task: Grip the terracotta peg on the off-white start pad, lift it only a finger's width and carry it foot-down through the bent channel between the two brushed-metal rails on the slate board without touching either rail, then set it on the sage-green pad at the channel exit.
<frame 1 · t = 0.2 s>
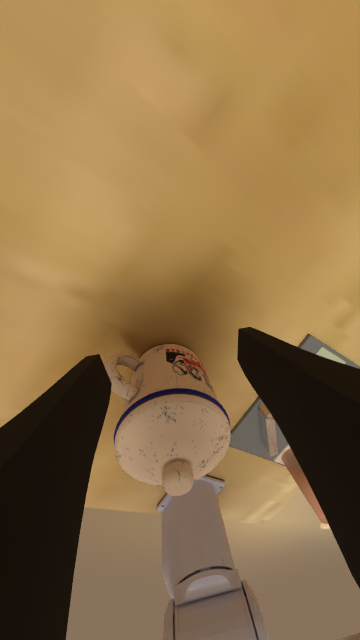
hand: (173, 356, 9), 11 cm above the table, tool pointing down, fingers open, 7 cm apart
rails: (293, 423, 25), on the board
peg: (292, 455, 28), point 1 cm above the table, touching board
board: (300, 411, 26), on the table
teacup with lid: (160, 366, 21), on the table
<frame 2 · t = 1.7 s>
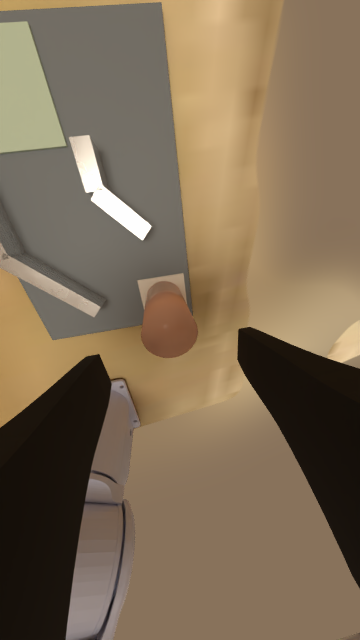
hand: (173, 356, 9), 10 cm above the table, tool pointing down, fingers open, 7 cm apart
rails: (79, 245, 13), on the board
peg: (164, 298, 17), point 1 cm above the table, touching board
board: (91, 221, 14), on the table
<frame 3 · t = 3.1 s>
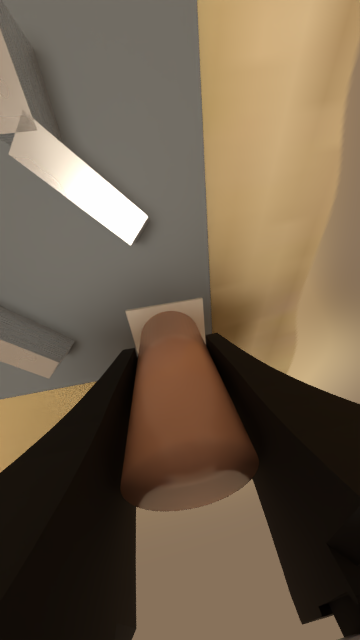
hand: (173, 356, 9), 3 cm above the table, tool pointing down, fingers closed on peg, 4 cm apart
rails: (9, 255, 7), on the board
peg: (170, 337, 11), point 1 cm above the table, touching board, gripper
board: (35, 208, 7), on the table
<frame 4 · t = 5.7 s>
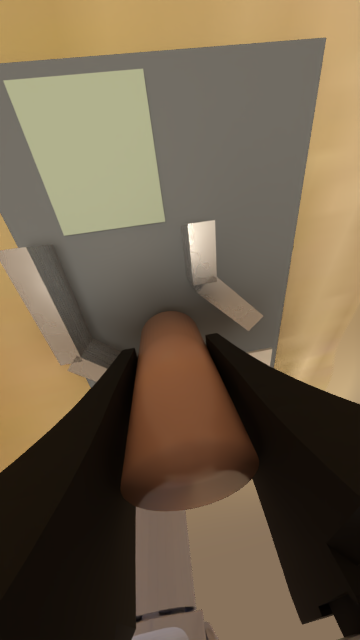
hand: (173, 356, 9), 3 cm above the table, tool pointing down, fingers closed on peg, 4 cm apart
rails: (163, 334, 11), on the board
peg: (170, 337, 11), point 2 cm above the table, touching gripper
board: (176, 300, 11), on the table
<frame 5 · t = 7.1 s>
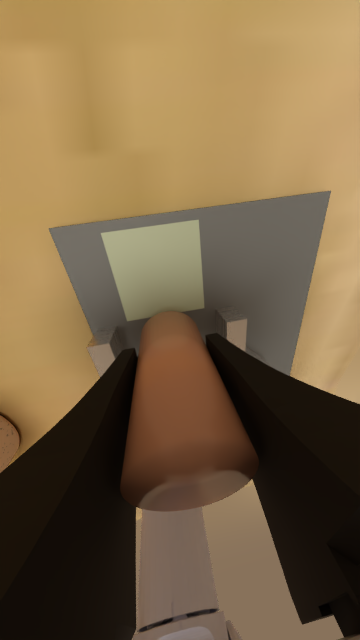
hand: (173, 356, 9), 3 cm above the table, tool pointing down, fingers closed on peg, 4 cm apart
rails: (197, 387, 13), on the board
peg: (170, 337, 11), point 2 cm above the table, touching gripper
board: (206, 358, 13), on the table
when the fingers open (3 cm above the table, at t = 8.4 s): peg stays where it is, resting on board.
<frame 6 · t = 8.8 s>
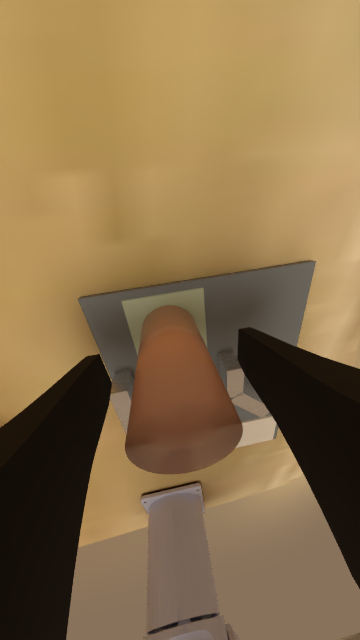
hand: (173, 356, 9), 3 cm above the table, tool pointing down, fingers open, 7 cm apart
rails: (200, 417, 15), on the board
peg: (169, 330, 11), point 1 cm above the table, touching board
board: (209, 391, 15), on the table
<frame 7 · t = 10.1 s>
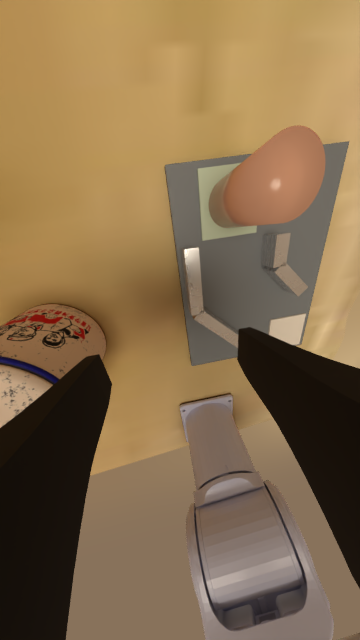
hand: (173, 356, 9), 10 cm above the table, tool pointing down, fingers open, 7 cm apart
rails: (245, 299, 18), on the board
peg: (229, 203, 14), point 1 cm above the table, touching board
board: (251, 279, 18), on the table
teacup with lid: (50, 339, 18), on the table
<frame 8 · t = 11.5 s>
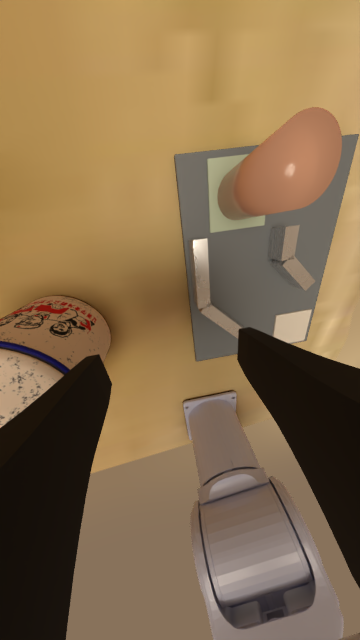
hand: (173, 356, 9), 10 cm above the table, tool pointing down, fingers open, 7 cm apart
rails: (252, 293, 17), on the board
peg: (238, 195, 14), point 1 cm above the table, touching board
board: (258, 273, 18), on the table
teacup with lid: (54, 332, 18), on the table
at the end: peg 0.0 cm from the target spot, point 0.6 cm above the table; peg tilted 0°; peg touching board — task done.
